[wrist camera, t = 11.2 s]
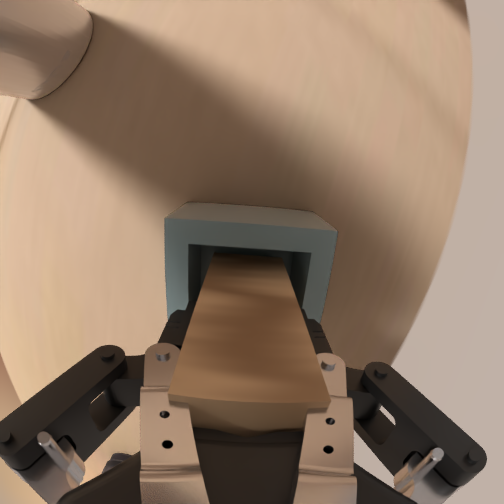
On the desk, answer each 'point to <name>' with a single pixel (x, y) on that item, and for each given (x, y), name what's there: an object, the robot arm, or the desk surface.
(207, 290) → the tan wooden block
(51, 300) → the desk surface
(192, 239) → the slate open square box
